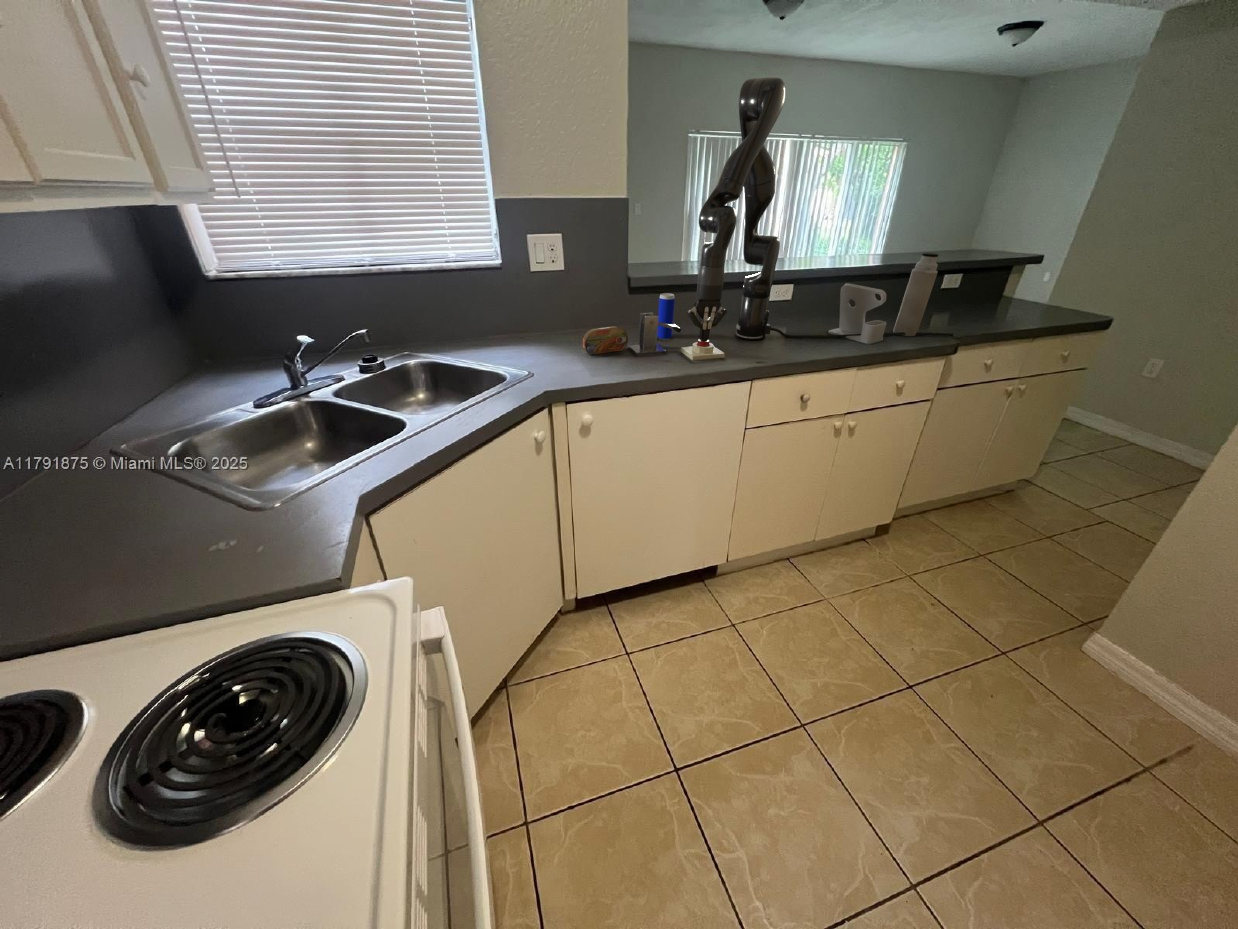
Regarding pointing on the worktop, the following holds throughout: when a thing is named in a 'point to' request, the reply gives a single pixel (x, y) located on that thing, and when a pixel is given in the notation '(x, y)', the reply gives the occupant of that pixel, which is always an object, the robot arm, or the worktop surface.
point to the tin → (605, 340)
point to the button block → (702, 352)
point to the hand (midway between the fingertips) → (703, 340)
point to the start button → (703, 343)
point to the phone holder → (860, 314)
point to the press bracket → (647, 335)
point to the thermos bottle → (917, 295)
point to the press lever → (668, 326)
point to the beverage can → (666, 314)
